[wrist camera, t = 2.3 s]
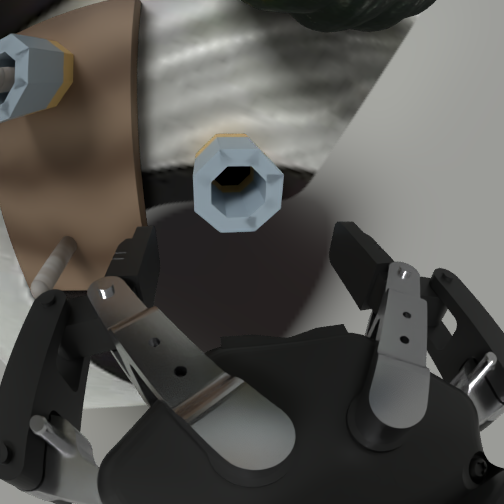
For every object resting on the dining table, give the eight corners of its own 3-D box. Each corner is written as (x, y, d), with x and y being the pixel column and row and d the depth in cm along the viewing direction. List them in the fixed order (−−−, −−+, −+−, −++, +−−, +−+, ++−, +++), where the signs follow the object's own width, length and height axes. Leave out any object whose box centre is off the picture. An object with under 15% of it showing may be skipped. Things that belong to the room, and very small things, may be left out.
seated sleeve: (20, 56, 11) (-29, 57, 6) (74, 35, 11) (32, 23, 6) (20, 117, 13) (-28, 134, 8) (73, 101, 14) (28, 111, 9)
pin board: (-1, 50, 10) (-66, 53, 3) (141, 2, 13) (106, -43, 5) (37, 278, 23) (4, 338, 16) (155, 275, 25) (143, 348, 18)
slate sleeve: (195, 134, 19) (192, 150, 14) (265, 133, 20) (286, 149, 15) (197, 198, 22) (195, 234, 17) (261, 196, 23) (278, 230, 18)
